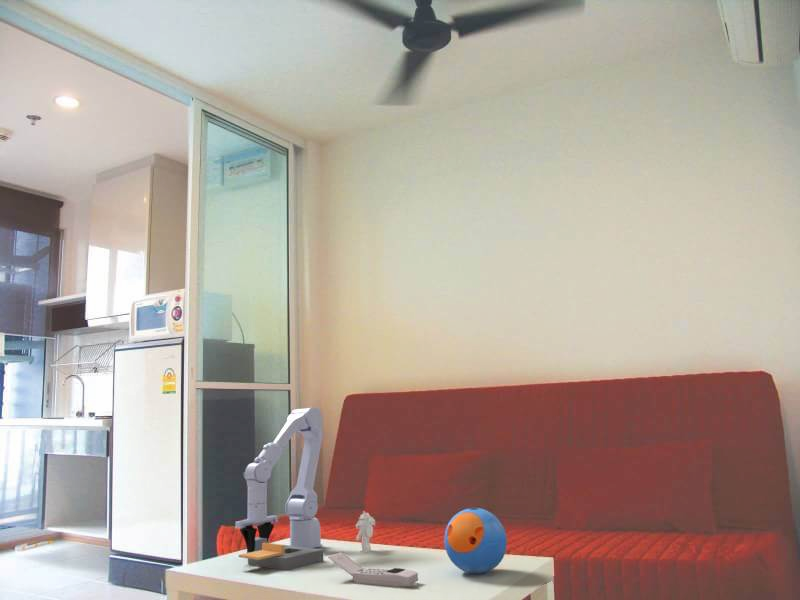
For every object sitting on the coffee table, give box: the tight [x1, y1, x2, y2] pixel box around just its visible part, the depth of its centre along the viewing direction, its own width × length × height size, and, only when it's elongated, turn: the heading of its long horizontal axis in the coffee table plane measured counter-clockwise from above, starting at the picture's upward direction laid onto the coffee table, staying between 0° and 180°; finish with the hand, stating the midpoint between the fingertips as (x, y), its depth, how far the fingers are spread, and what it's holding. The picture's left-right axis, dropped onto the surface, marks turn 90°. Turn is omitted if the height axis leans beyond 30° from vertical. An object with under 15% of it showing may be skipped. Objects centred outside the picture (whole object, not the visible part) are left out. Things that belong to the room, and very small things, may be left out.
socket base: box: [247, 544, 324, 571], centre depth 181 cm, size 14×16×3 cm
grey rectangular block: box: [246, 537, 267, 553], centre depth 191 cm, size 4×4×5 cm
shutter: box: [238, 542, 286, 560], centre depth 175 cm, size 9×8×2 cm
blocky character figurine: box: [355, 510, 376, 553], centre depth 195 cm, size 9×4×12 cm, turn 152°
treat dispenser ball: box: [443, 507, 508, 575], centre depth 160 cm, size 16×15×15 cm
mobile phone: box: [327, 551, 419, 588], centre depth 154 cm, size 6×6×25 cm
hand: (257, 550), depth 191 cm, fingers closed on grey rectangular block, 4 cm apart
